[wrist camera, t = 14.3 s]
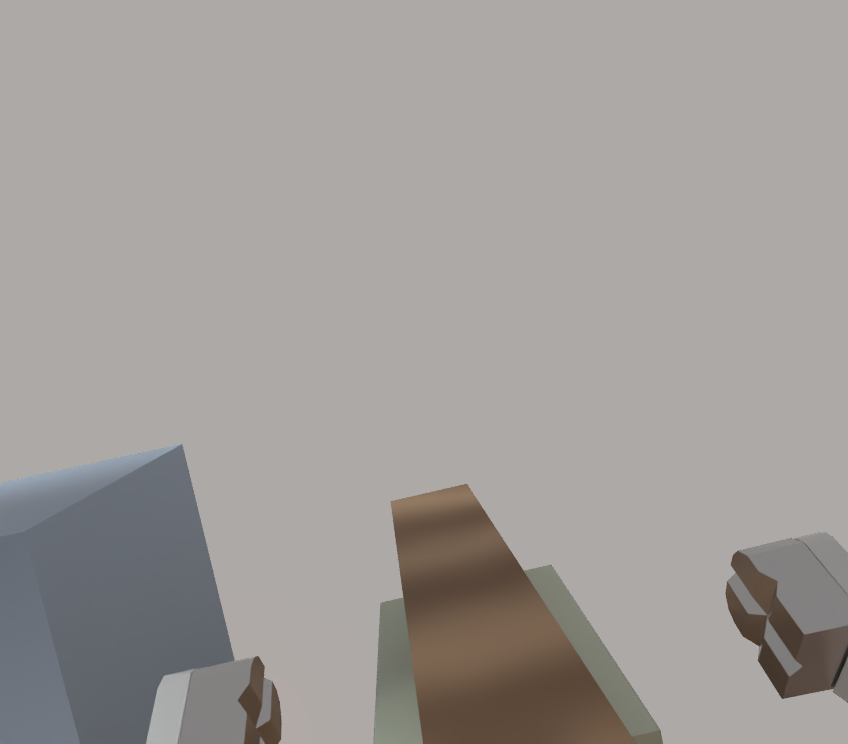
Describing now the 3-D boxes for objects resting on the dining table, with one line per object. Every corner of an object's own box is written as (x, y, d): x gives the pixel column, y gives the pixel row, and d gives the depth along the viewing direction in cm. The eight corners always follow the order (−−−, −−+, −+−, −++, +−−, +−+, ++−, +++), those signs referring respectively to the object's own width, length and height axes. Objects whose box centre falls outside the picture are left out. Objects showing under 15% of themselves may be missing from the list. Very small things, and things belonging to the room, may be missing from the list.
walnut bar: (777, 1121, 9) (736, 897, 9) (505, 1207, 9) (454, 979, 8) (480, 548, 33) (467, 483, 33) (405, 566, 33) (390, 501, 32)
